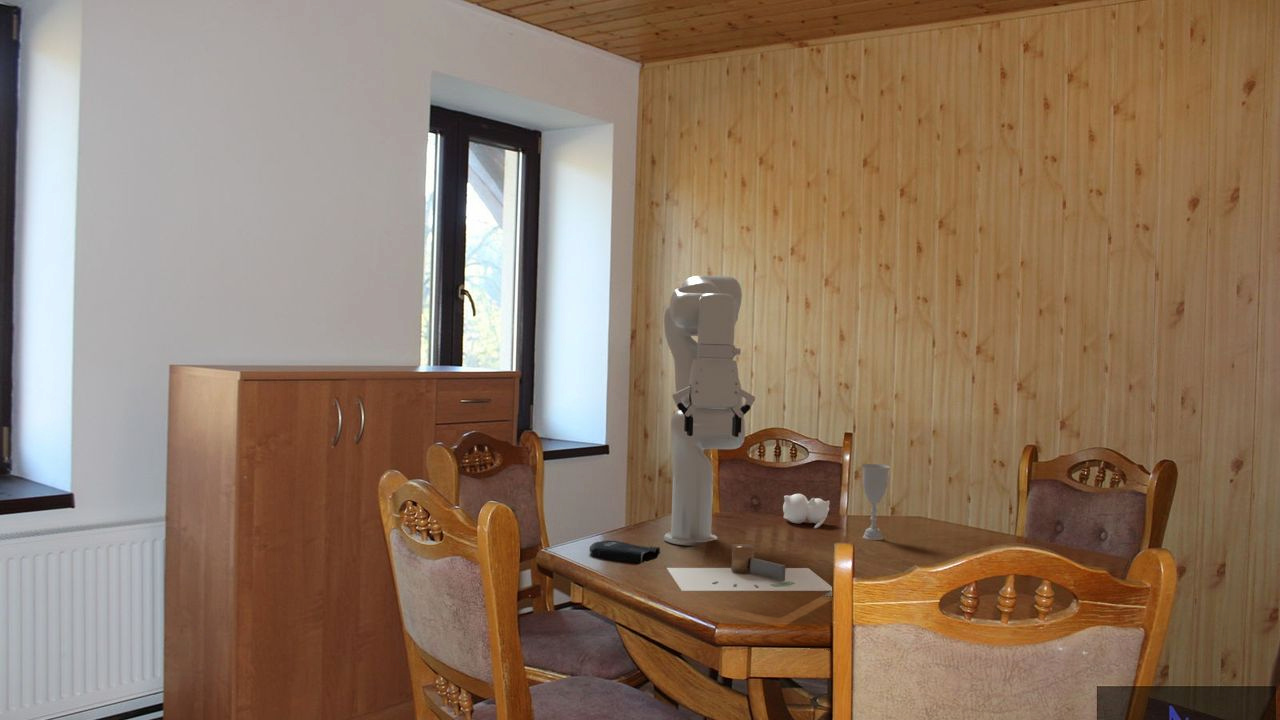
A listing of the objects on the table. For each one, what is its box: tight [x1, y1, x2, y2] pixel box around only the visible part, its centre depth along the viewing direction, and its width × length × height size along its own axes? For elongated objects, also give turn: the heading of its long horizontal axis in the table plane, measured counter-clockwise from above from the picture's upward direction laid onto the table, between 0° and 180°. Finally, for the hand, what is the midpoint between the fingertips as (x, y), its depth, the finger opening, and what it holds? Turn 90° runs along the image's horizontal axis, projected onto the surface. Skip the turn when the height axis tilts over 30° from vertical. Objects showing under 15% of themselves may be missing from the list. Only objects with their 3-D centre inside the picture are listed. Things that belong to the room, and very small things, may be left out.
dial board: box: [666, 567, 833, 598], centre depth 199 cm, size 18×30×1 cm, turn 98°
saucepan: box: [730, 543, 786, 581], centre depth 201 cm, size 13×4×5 cm, turn 44°
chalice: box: [861, 463, 891, 541], centre depth 250 cm, size 7×7×18 cm
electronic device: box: [589, 539, 661, 564], centre depth 220 cm, size 9×6×15 cm
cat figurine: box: [782, 493, 830, 529], centre depth 266 cm, size 9×11×12 cm
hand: (712, 435), depth 208 cm, fingers open, 9 cm apart
